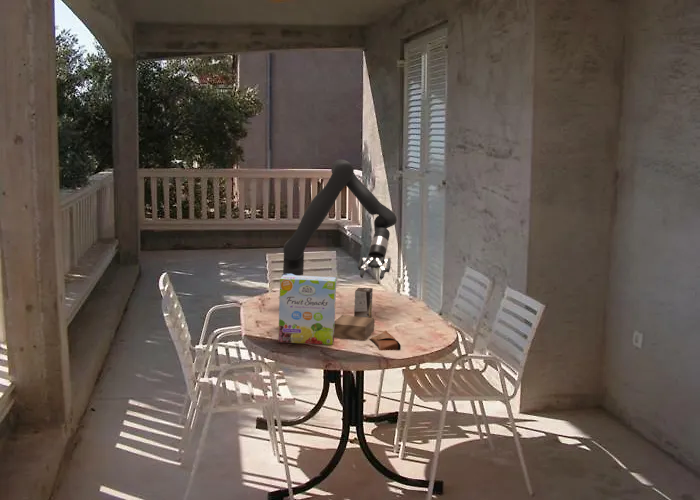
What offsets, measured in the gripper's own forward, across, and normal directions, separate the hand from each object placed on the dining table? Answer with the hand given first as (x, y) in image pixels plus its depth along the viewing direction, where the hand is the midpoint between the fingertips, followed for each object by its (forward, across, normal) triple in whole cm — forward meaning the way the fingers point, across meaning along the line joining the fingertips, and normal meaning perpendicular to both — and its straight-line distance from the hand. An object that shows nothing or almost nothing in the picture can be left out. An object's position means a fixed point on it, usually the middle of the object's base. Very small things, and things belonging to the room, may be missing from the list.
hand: (371, 277), depth 348 cm
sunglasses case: (+40, +16, -12) cm, 45 cm away
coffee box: (+22, 0, +6) cm, 23 cm away
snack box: (+46, -14, -18) cm, 51 cm away
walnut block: (+33, 0, -5) cm, 33 cm away
